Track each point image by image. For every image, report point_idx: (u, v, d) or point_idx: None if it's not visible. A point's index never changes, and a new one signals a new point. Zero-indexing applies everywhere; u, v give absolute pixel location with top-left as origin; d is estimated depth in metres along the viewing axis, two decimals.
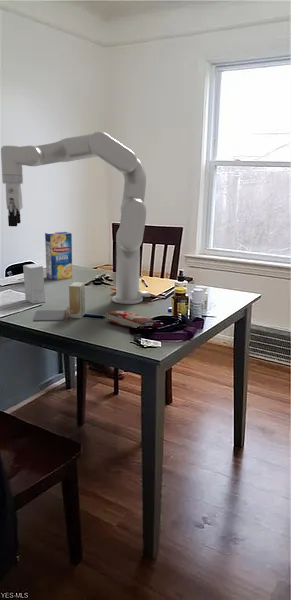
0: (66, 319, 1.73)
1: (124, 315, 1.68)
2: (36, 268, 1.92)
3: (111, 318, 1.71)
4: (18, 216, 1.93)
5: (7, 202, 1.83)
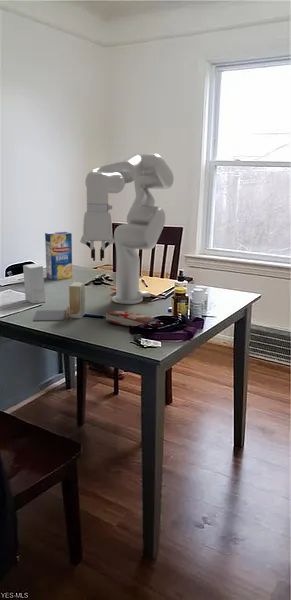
0: (66, 319, 1.73)
1: (126, 315, 1.68)
2: (36, 268, 1.92)
3: (112, 319, 1.70)
4: None
5: None
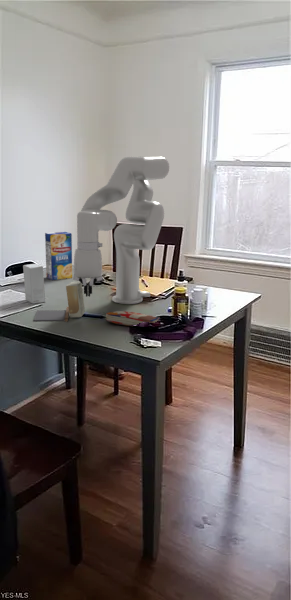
0: (66, 319, 1.73)
1: (127, 315, 1.68)
2: (36, 268, 1.92)
3: (113, 319, 1.70)
4: None
5: None
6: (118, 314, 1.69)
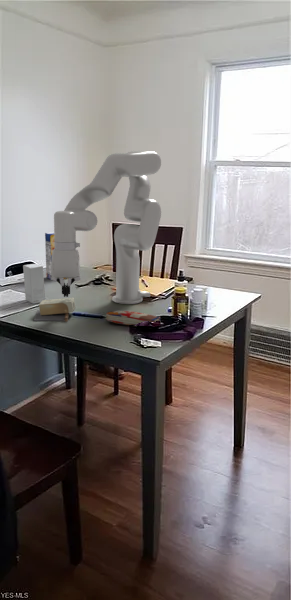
0: (66, 319, 1.73)
1: (128, 314, 1.69)
2: (36, 268, 1.92)
3: (113, 319, 1.70)
4: None
5: None
6: (119, 314, 1.70)
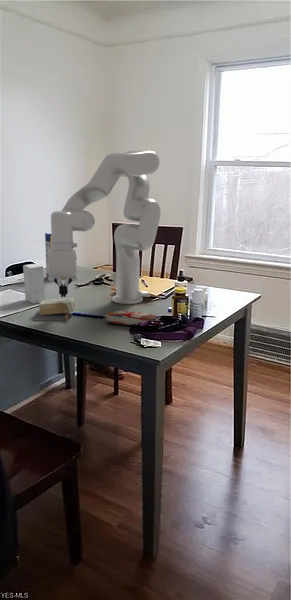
0: (66, 319, 1.73)
1: (129, 314, 1.69)
2: (36, 268, 1.92)
3: (114, 319, 1.69)
4: None
5: None
6: (119, 314, 1.69)
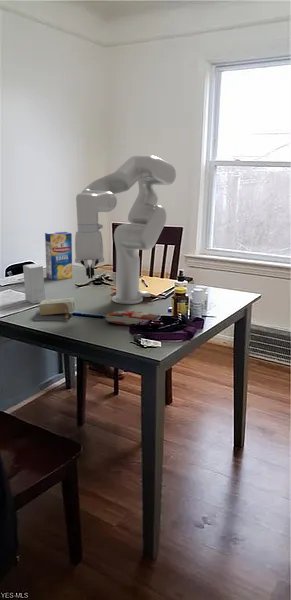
0: (66, 319, 1.73)
1: (129, 314, 1.69)
2: (36, 268, 1.92)
3: (115, 319, 1.69)
4: None
5: None
6: (120, 314, 1.69)
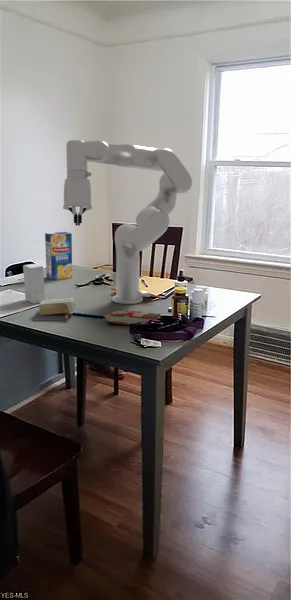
0: (66, 319, 1.73)
1: (130, 314, 1.69)
2: (36, 268, 1.92)
3: (115, 319, 1.69)
4: None
5: (88, 204, 1.81)
6: (120, 314, 1.69)
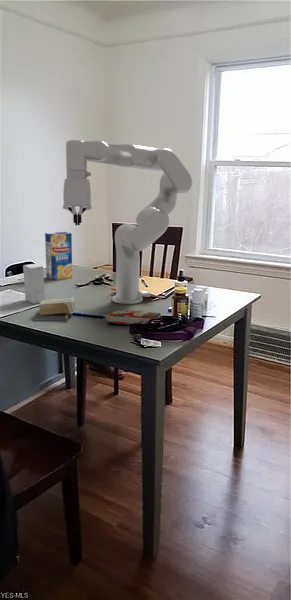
0: (66, 319, 1.73)
1: (131, 314, 1.70)
2: (36, 268, 1.92)
3: (116, 320, 1.69)
4: None
5: (87, 204, 1.81)
6: (121, 314, 1.69)
